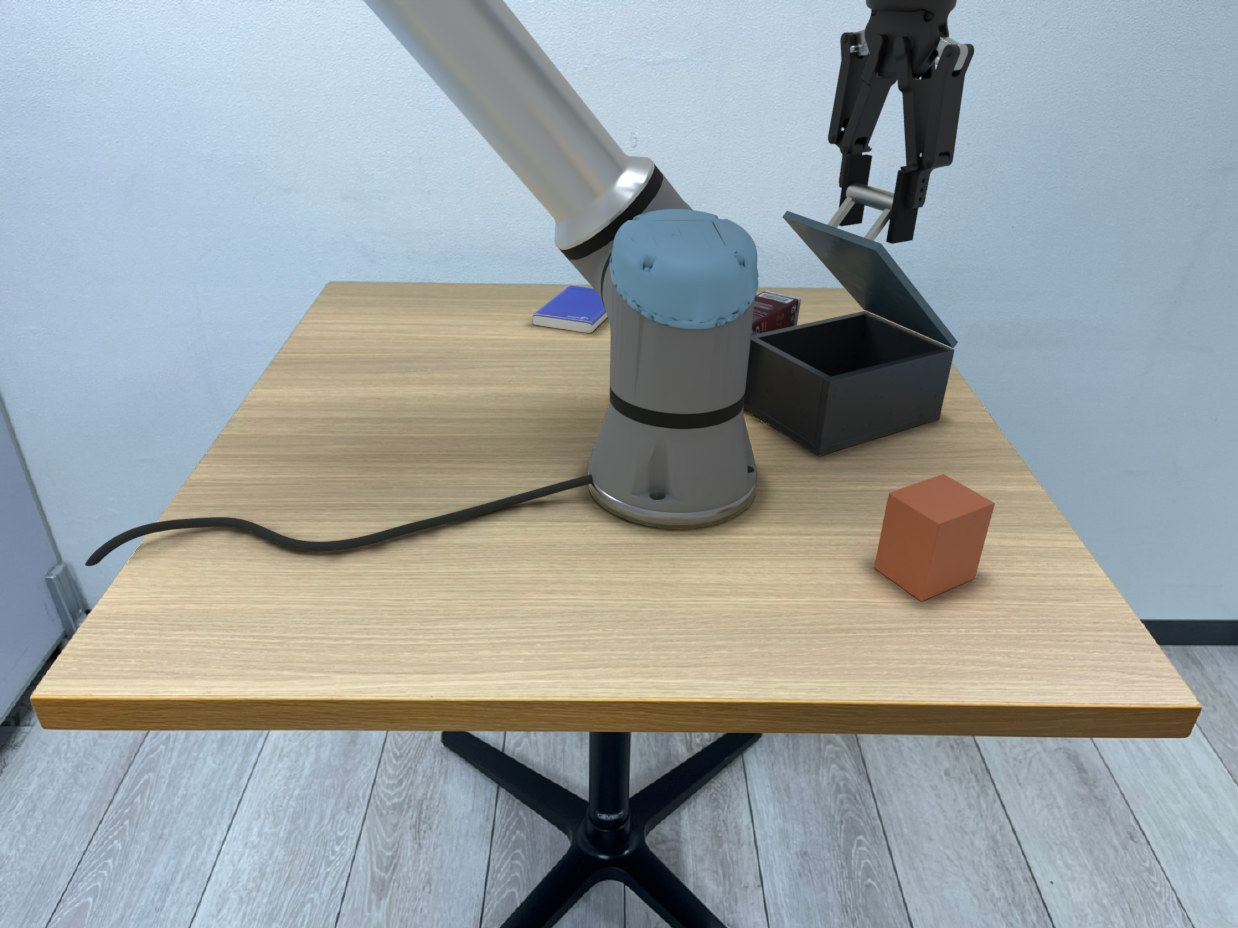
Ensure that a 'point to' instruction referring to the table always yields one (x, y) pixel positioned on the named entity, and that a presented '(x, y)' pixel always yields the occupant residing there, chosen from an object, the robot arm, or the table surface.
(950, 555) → the reddish-orange cube block
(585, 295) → the blue book
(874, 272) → the box lid
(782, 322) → the supplement box
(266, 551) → the table surface
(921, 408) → the black box
